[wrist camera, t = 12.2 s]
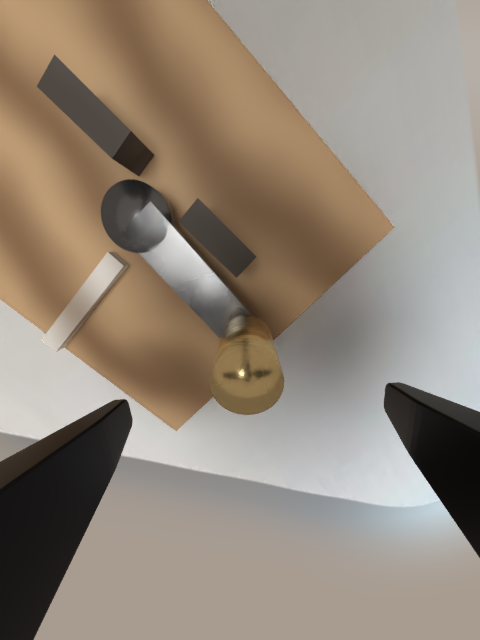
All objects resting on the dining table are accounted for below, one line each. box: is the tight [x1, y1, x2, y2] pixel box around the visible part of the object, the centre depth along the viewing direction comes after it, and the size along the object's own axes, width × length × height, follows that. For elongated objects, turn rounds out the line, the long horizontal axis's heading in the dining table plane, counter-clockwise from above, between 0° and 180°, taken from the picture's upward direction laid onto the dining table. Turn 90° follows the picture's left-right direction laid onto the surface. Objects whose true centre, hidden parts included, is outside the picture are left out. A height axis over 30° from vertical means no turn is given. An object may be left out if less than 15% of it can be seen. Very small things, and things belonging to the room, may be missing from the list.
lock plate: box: [0, 0, 394, 431], centre depth 14 cm, size 21×23×4 cm
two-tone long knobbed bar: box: [101, 179, 284, 415], centre depth 12 cm, size 12×4×6 cm, turn 41°
